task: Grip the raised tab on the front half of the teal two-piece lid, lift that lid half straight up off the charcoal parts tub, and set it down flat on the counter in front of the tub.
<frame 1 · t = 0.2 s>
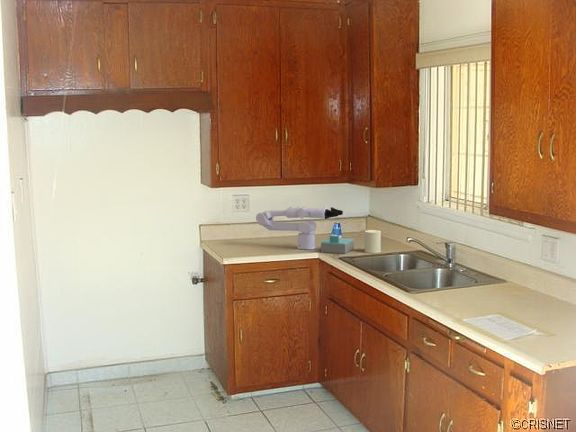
hand: (340, 213, 390), 21 cm above the worktop, tool horizontal, fingers open, 7 cm apart
can: (372, 251, 390), on the worktop
tub: (337, 250, 393), on the worktop
lid: (335, 244, 388), point 4 cm above the worktop, touching tub
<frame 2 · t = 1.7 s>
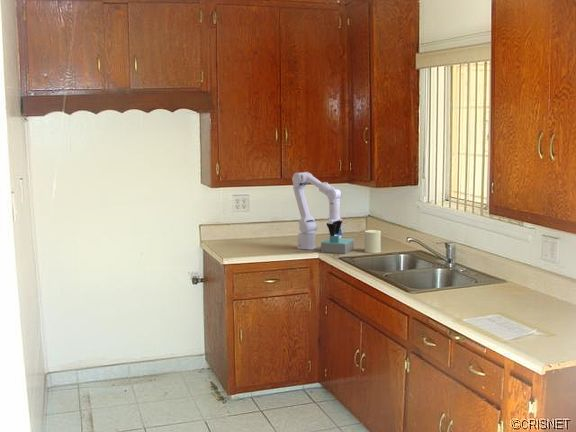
hand: (334, 234, 386), 10 cm above the worktop, tool pointing down, fingers open, 7 cm apart
nothing on the worktop moved.
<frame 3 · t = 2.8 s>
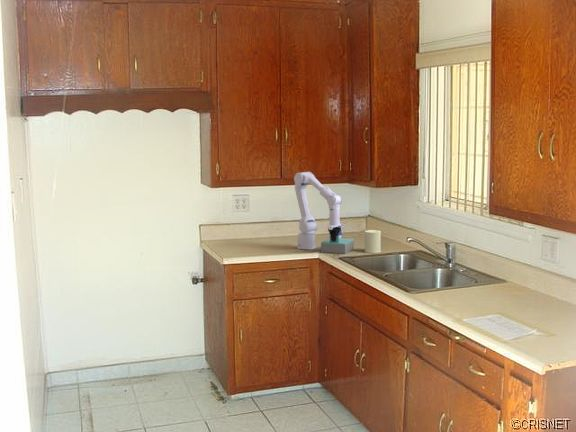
hand: (334, 240, 387), 7 cm above the worktop, tool pointing down, fingers closed on lid
lid: (335, 244, 388), point 4 cm above the worktop, touching gripper, tub
everything else where it was.
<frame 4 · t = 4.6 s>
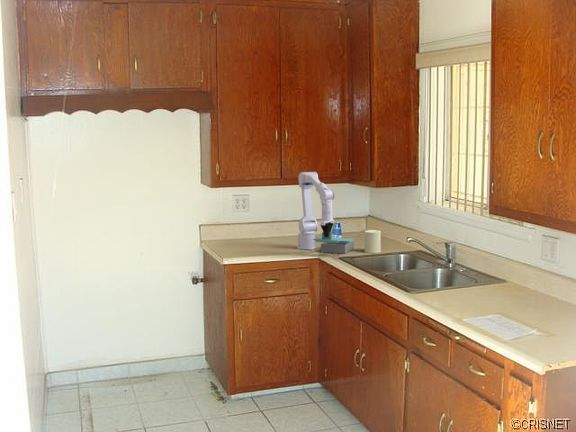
hand: (327, 236, 377), 10 cm above the worktop, tool pointing down, fingers closed on lid
lid: (327, 241, 379), point 8 cm above the worktop, touching gripper
everything else where it was.
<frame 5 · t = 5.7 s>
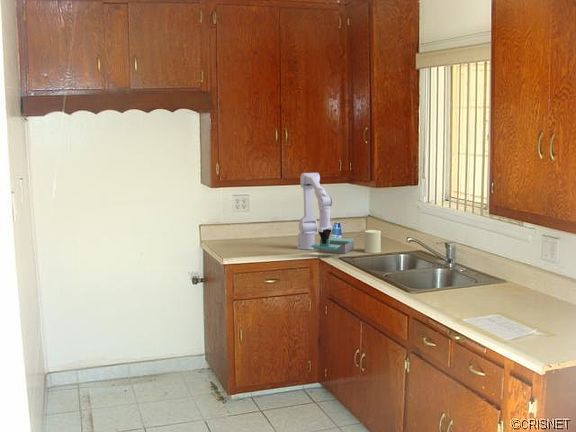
hand: (324, 243, 375), 7 cm above the worktop, tool pointing down, fingers closed on lid
lid: (325, 248, 377), point 4 cm above the worktop, touching gripper
everything else where it was.
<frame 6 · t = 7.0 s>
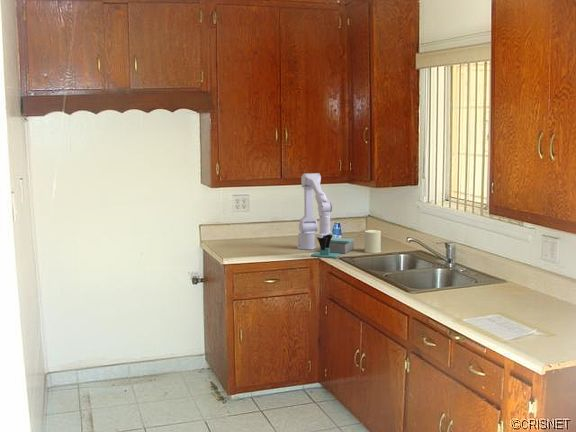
hand: (324, 249, 375), 4 cm above the worktop, tool pointing down, fingers open, 5 cm apart
lid: (325, 256, 377), on the worktop
everything else where it was.
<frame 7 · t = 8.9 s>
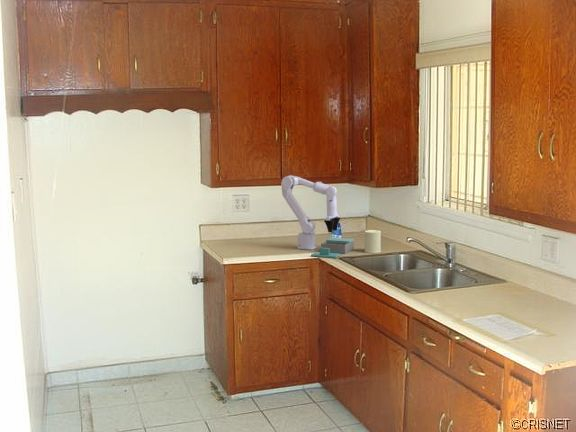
hand: (332, 231, 396), 10 cm above the worktop, tool pointing down, fingers open, 7 cm apart
nothing on the worktop moved.
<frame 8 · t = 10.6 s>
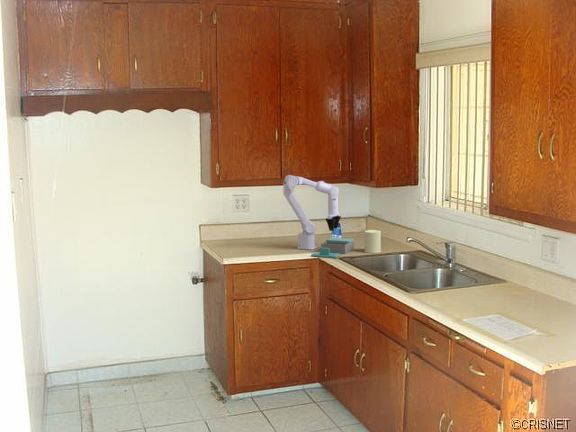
hand: (333, 229, 402), 10 cm above the worktop, tool pointing down, fingers open, 7 cm apart
nothing on the worktop moved.
at the end: lid inside the target area (0.0 cm from its centre), on the worktop; lid tilted 0°; the gripper is holding nothing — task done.
